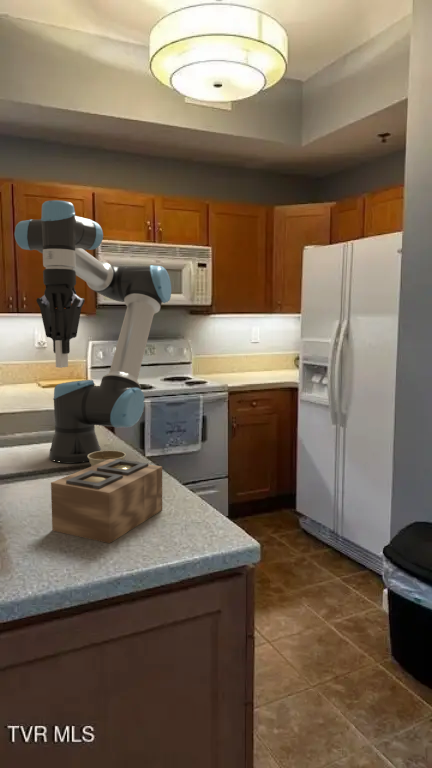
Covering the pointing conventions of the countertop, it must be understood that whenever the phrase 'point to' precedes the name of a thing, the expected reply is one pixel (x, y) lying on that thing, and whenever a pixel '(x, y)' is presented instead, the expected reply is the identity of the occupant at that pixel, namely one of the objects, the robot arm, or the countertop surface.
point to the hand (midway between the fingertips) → (61, 366)
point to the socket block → (106, 499)
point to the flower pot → (105, 456)
